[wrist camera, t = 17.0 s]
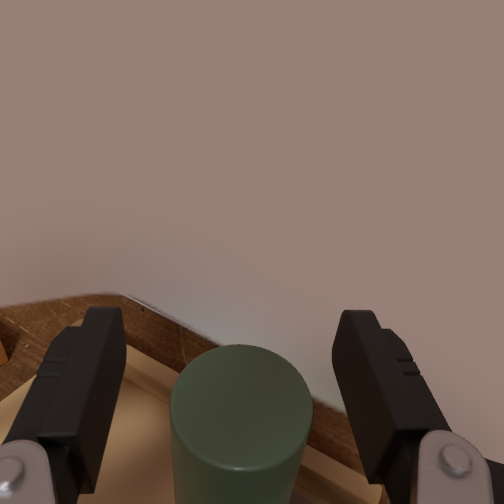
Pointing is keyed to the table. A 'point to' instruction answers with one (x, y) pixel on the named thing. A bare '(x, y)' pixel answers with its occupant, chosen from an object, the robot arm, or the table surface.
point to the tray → (160, 452)
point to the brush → (239, 428)
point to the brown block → (2, 355)
